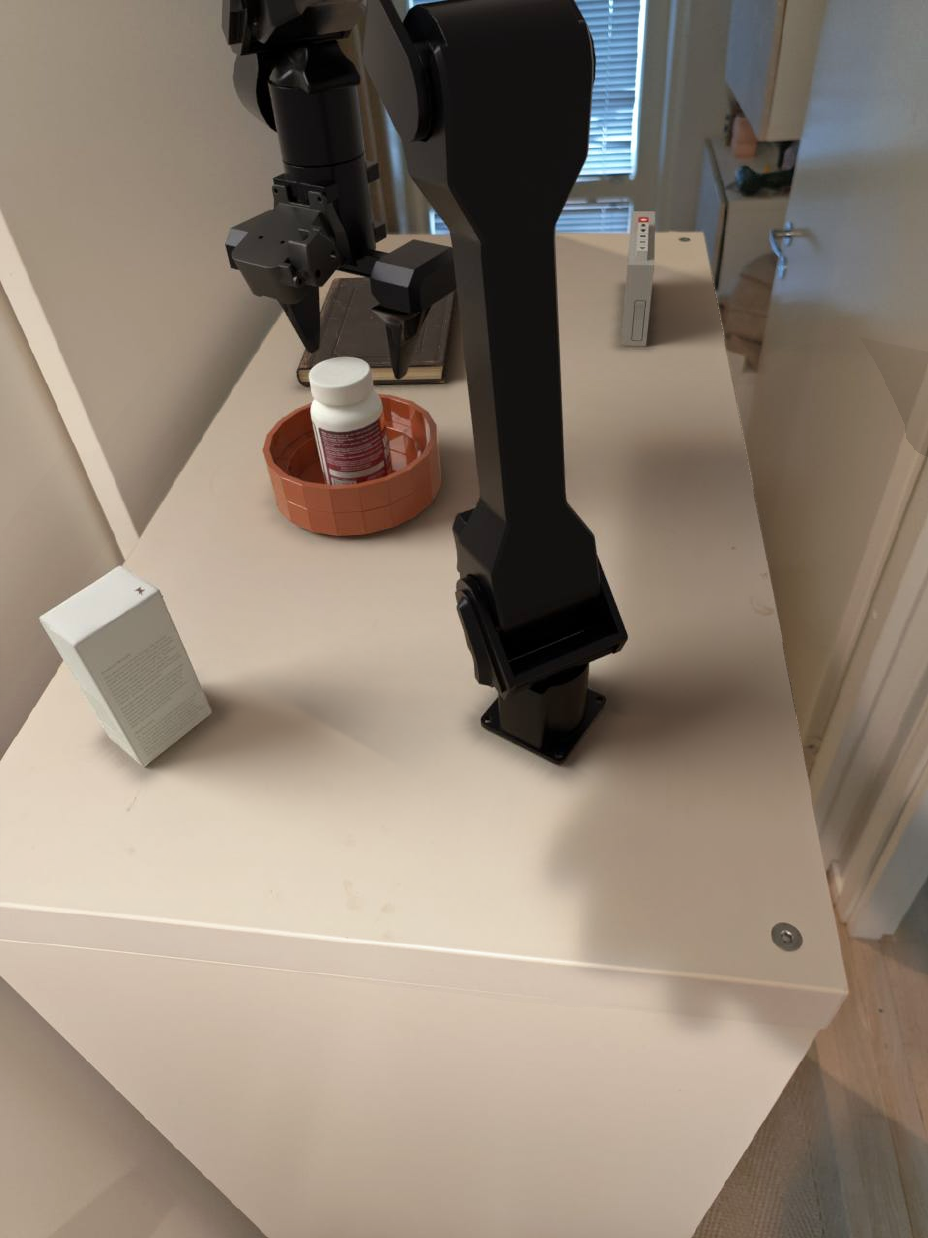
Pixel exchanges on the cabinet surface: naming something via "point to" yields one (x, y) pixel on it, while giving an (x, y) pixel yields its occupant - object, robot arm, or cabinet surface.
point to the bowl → (362, 503)
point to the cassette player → (639, 278)
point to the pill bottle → (348, 422)
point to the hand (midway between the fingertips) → (356, 363)
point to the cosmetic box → (129, 663)
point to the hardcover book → (378, 335)
